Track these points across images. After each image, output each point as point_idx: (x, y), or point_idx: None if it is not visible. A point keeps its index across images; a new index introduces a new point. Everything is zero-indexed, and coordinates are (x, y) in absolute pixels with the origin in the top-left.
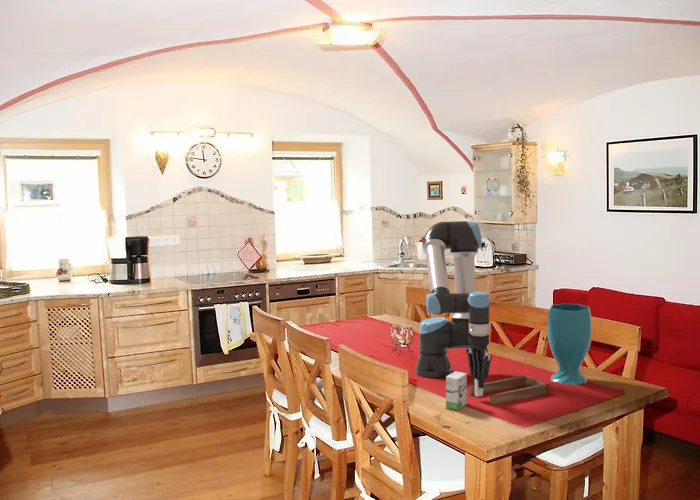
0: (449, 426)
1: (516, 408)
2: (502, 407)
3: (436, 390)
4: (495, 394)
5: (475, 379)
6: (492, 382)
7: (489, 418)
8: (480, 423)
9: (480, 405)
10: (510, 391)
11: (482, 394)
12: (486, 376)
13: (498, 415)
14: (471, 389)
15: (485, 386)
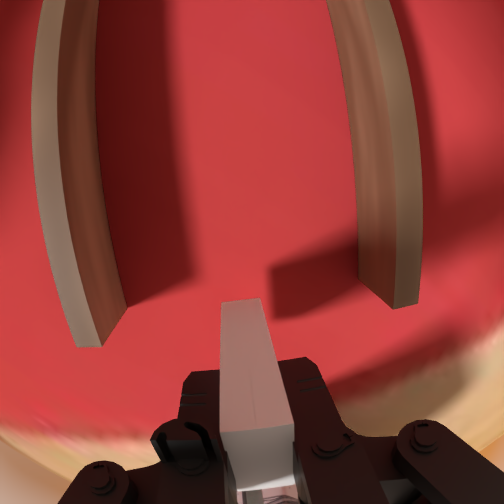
0: None
1: (473, 160)
2: (434, 228)
3: (20, 407)
4: (403, 248)
5: (255, 484)
6: (49, 68)
7: (475, 365)
8: (473, 406)
9: (338, 344)
10: (391, 58)
11: (260, 306)
12: (444, 455)
13: (483, 315)
14: (109, 334)
15: (71, 163)
